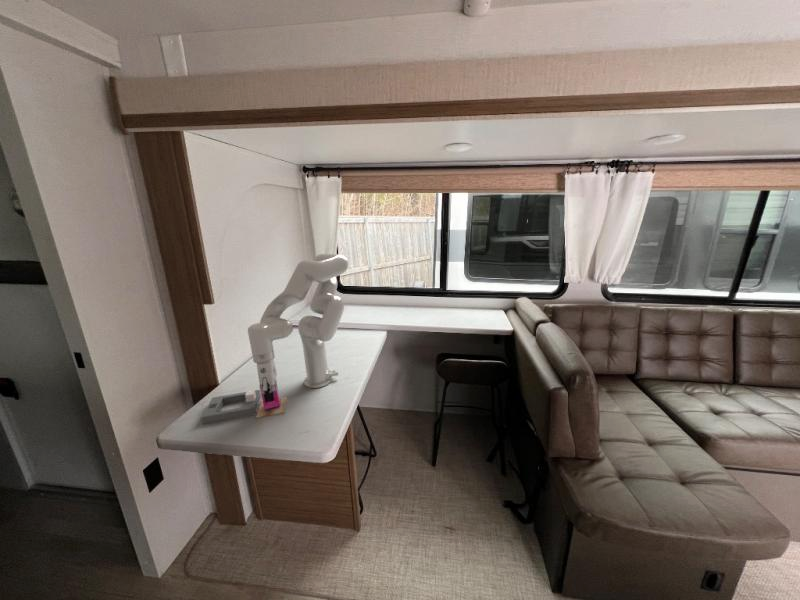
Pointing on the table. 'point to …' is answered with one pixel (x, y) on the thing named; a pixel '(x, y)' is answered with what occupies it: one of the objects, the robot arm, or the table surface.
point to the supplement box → (276, 397)
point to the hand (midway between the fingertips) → (270, 396)
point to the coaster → (279, 410)
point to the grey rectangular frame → (216, 404)
